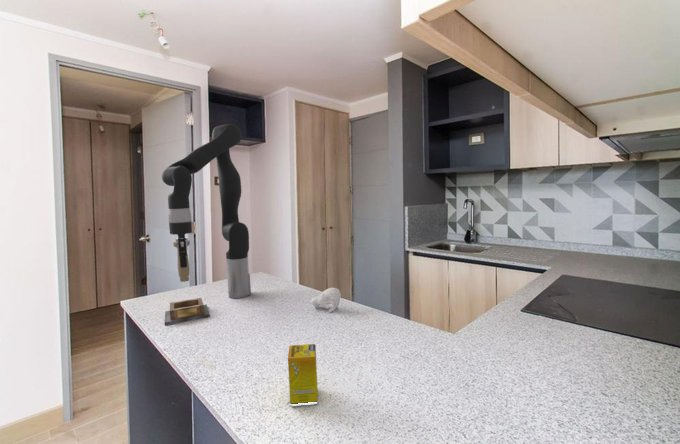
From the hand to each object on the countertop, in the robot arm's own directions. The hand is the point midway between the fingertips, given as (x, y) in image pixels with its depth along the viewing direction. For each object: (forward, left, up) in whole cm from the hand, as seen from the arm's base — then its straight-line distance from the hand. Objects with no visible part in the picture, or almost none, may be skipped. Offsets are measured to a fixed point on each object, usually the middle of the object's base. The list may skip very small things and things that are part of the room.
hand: (183, 265), depth 124 cm
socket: (0, 0, -19) cm, 19 cm away
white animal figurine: (-48, +22, -19) cm, 56 cm away
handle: (0, 0, -6) cm, 6 cm away
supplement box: (-21, +70, -19) cm, 76 cm away
